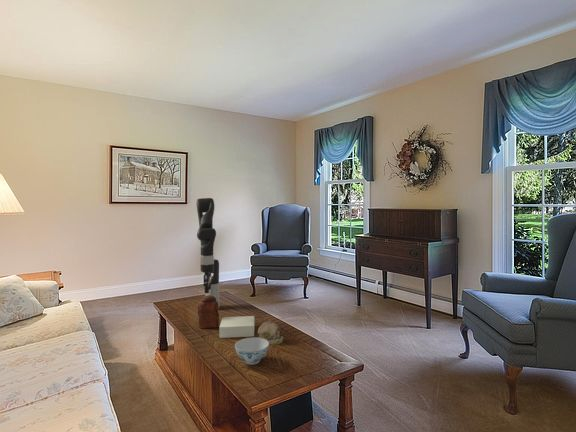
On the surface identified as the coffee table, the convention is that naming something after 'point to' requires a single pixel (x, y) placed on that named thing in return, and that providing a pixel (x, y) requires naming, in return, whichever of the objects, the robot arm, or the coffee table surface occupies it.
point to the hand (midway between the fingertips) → (207, 291)
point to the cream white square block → (236, 327)
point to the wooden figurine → (208, 312)
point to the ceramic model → (270, 333)
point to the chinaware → (252, 349)
